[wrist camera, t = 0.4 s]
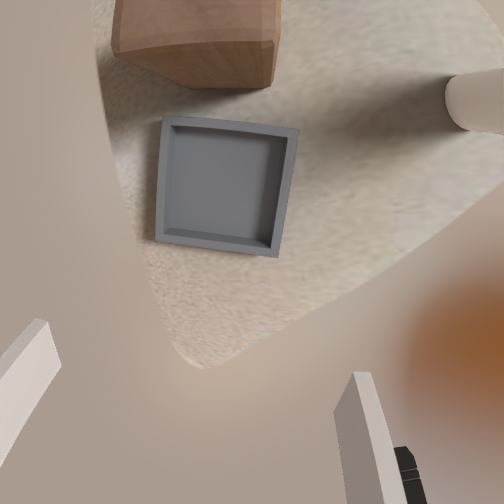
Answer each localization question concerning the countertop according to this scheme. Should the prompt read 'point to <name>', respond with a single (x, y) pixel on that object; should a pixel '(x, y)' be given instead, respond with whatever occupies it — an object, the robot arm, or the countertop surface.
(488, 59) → the countertop surface
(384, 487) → the robot arm
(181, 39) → the wooden block
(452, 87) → the bottle
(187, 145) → the tray
